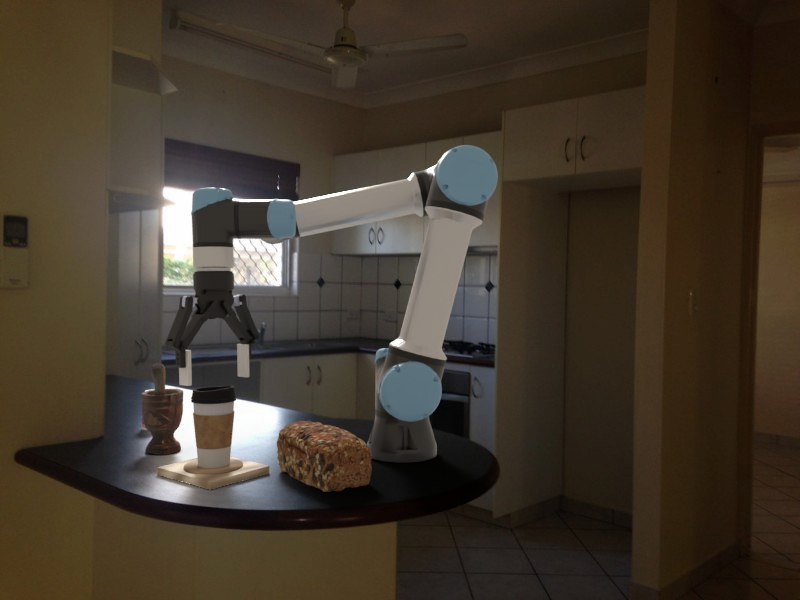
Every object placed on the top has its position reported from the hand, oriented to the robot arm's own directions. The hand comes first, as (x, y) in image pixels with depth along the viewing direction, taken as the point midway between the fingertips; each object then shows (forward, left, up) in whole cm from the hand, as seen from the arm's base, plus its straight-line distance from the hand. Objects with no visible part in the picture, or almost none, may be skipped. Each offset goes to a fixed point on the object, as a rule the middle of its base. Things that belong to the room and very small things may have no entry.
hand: (215, 381), depth 133 cm
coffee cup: (0, 0, -16) cm, 16 cm away
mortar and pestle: (+22, -4, -18) cm, 29 cm away
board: (0, 0, -18) cm, 18 cm away
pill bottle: (+46, -17, -18) cm, 53 cm away
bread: (-18, -11, -18) cm, 28 cm away
